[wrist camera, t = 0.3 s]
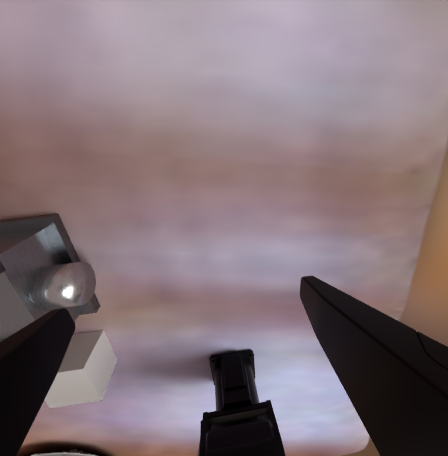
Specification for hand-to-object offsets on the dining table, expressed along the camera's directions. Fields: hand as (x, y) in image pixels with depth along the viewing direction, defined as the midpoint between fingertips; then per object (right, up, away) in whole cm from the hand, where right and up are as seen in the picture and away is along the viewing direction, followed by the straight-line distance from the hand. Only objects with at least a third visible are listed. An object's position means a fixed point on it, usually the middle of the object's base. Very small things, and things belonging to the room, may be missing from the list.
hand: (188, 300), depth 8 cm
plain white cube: (-17, -13, +20) cm, 29 cm away
